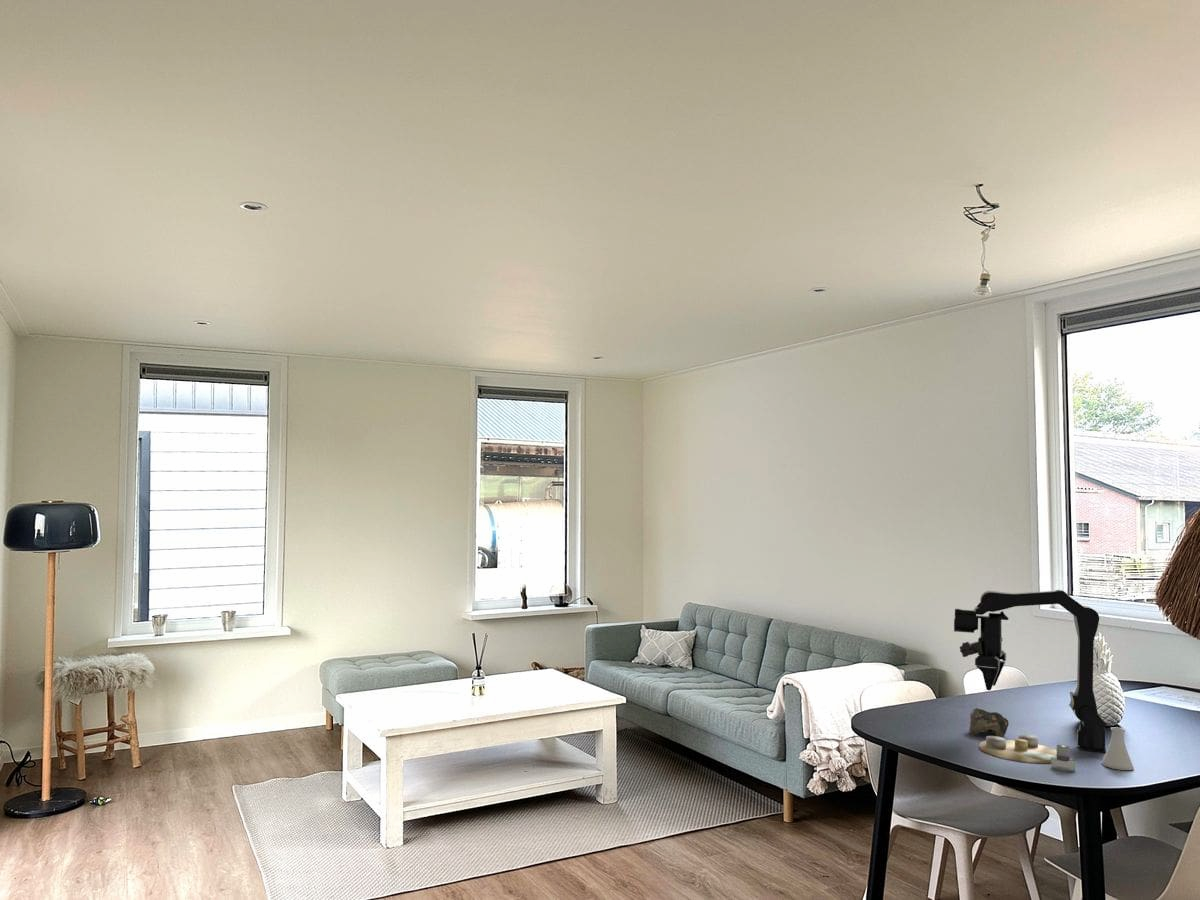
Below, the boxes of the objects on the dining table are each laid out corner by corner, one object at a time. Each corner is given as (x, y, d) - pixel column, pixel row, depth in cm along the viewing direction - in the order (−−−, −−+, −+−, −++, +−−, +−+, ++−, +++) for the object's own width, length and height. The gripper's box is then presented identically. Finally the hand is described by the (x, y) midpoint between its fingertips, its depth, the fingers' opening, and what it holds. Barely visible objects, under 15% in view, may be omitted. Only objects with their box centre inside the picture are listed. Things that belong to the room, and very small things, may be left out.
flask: (1122, 763, 240) (1122, 725, 241) (1139, 771, 233) (1139, 732, 234) (1096, 762, 240) (1096, 724, 241) (1112, 770, 233) (1112, 731, 233)
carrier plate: (1063, 749, 252) (1063, 737, 252) (1065, 767, 233) (1065, 755, 234) (981, 738, 261) (981, 727, 262) (977, 755, 243) (977, 742, 243)
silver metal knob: (1074, 768, 234) (1074, 745, 234) (1075, 773, 228) (1075, 749, 229) (1050, 765, 236) (1050, 741, 236) (1051, 770, 231) (1051, 746, 231)
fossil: (1004, 730, 271) (1009, 704, 267) (1009, 752, 263) (1013, 725, 259) (966, 725, 273) (969, 699, 269) (969, 746, 265) (972, 720, 261)
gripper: (967, 628, 278) (966, 679, 277) (956, 634, 262) (956, 689, 261) (1006, 632, 272) (1006, 684, 271) (997, 638, 256) (997, 694, 255)
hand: (990, 687), depth 265 cm, fingers open, 9 cm apart
